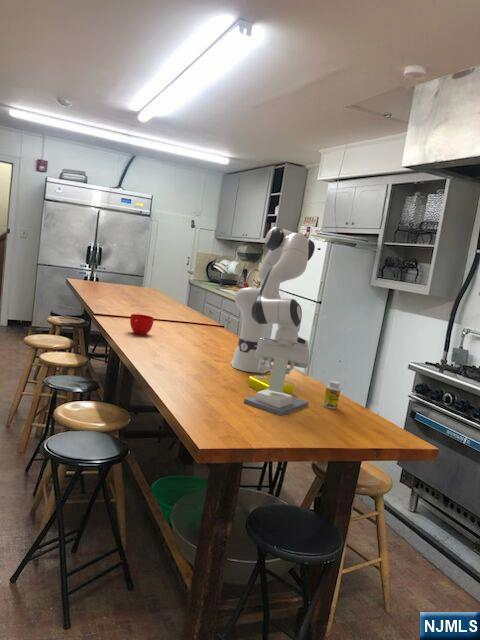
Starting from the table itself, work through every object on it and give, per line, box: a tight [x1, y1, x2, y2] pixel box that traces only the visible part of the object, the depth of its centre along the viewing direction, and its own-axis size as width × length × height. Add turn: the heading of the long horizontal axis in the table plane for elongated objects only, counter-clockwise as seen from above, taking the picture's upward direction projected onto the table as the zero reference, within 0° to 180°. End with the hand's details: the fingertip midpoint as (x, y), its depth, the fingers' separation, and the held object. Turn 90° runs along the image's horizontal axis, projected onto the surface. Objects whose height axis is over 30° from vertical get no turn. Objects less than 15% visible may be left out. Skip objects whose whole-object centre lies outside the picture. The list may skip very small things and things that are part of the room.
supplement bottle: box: [322, 380, 341, 409], centre depth 196 cm, size 6×6×10 cm
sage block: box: [269, 356, 289, 393], centre depth 184 cm, size 5×5×12 cm
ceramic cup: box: [129, 313, 155, 336], centre depth 279 cm, size 13×17×10 cm
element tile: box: [247, 374, 296, 396], centre depth 208 cm, size 15×15×5 cm
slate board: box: [243, 389, 309, 417], centre depth 188 cm, size 22×16×4 cm
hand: (279, 371), depth 183 cm, fingers closed on sage block, 5 cm apart
